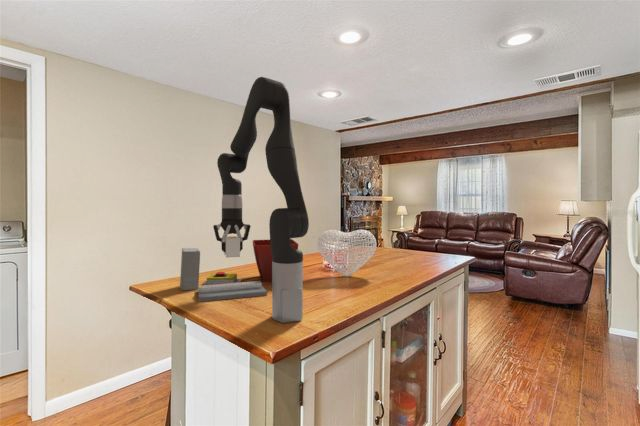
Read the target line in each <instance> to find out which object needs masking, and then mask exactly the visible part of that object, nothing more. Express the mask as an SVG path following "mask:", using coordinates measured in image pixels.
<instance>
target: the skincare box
mask: <svg viewBox="0 0 640 426" xmlns="http://www.w3.org/2000/svg"><path fill="white" fill-rule="evenodd" d="M200 262H201V251H200V249H199V248H198V247H181V260H180V281H179V287H180V289H181V291H194V290H198V288H200V287H199V285H200V284H199V283H200V267H201V266H200V264H201V263H200Z"/></svg>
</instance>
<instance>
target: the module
mask: <svg viewBox="0 0 640 426" xmlns="http://www.w3.org/2000/svg"><path fill="white" fill-rule="evenodd" d="M225 243H226V252H223V253H224V256H225V258H226V259H227V258H240V257H241V252H240V238H238V237H237V235H236V236H235V235H231V236H229V235H227V237H226V240H225Z"/></svg>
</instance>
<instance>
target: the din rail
mask: <svg viewBox="0 0 640 426" xmlns="http://www.w3.org/2000/svg"><path fill="white" fill-rule="evenodd" d="M262 286H263V283H262V281H261V280H255V281H253V280H252V281H242V282H241V281H240V283H227V284H215V285H204V284H203V285H200V287H201V293H212V292H223V291H234V290H246V289H257V288H262Z"/></svg>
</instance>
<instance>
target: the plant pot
mask: <svg viewBox="0 0 640 426" xmlns="http://www.w3.org/2000/svg"><path fill="white" fill-rule="evenodd" d="M290 241H291V246H292V247H293V248H294V249H297V250H299V243H298V242H296V241H295V240H293V238H290ZM252 246H253V253H254V256H255V257H254V258H255V263H256V266H257V267H256V268H257V271H258V273H259V277H260V282H261V283H262V282H264V283H265V282H272V253H271V249H270V239H253V240H252Z"/></svg>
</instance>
